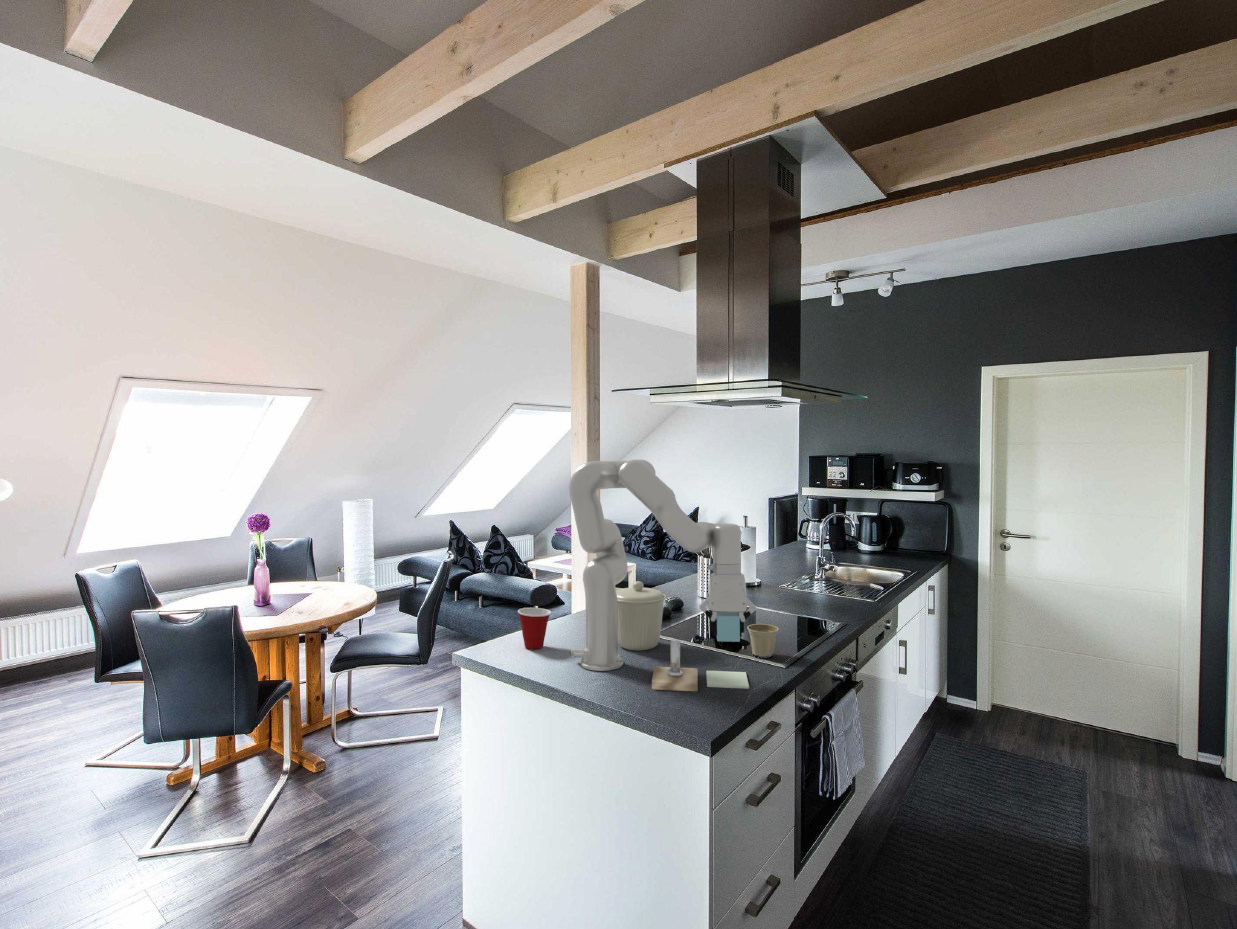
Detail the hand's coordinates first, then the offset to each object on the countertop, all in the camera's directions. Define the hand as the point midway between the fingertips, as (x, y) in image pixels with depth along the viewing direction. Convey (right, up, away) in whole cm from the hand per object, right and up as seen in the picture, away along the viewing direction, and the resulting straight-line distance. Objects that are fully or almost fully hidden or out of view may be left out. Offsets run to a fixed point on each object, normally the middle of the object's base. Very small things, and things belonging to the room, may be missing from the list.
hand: (727, 634), depth 171 cm
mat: (0, -13, 0) cm, 13 cm away
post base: (-15, -13, -1) cm, 19 cm away
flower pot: (+14, -13, +22) cm, 29 cm away
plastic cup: (-57, -13, +30) cm, 66 cm away
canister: (-24, -13, +31) cm, 41 cm away
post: (-15, -11, -1) cm, 18 cm away
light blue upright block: (0, -1, 0) cm, 1 cm away
